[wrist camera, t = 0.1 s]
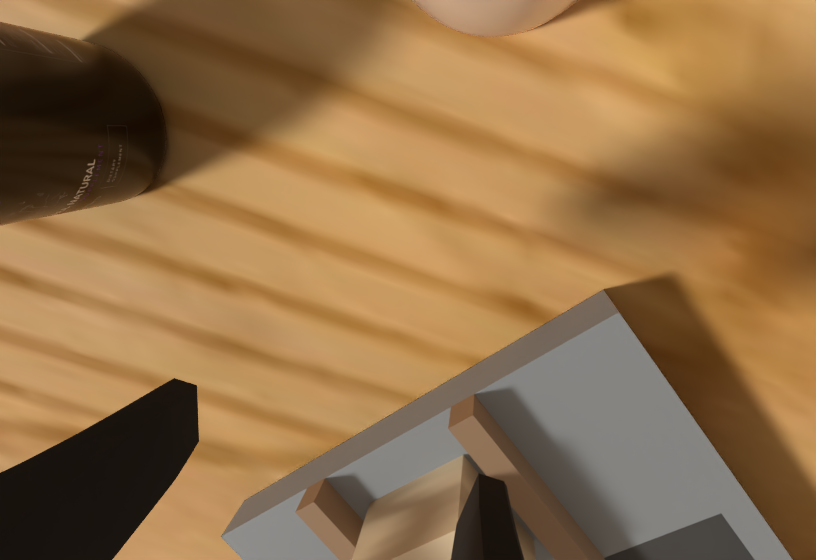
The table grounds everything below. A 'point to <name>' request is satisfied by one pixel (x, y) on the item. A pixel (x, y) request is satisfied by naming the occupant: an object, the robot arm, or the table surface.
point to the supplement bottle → (72, 126)
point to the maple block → (423, 517)
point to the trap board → (535, 458)
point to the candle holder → (493, 14)
